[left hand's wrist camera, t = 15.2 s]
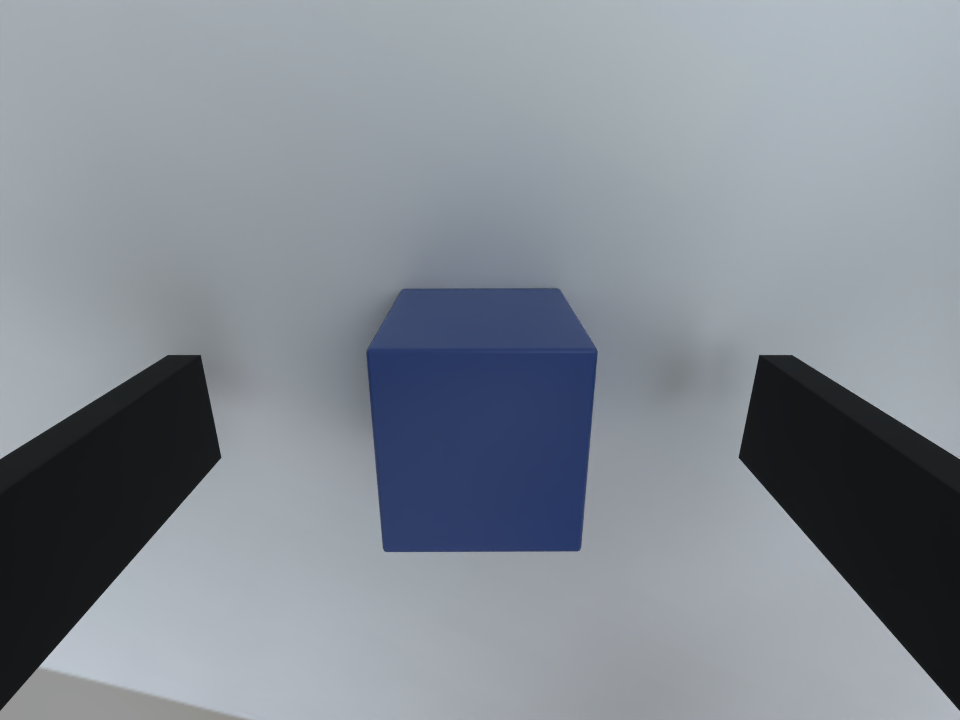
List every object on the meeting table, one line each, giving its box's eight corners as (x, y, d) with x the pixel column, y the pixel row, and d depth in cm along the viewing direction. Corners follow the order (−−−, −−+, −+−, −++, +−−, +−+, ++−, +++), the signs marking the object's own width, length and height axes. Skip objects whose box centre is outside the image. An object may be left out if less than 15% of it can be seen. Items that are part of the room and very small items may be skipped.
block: (409, 440, 15) (382, 553, 11) (401, 288, 14) (365, 349, 9) (552, 439, 15) (581, 553, 11) (560, 288, 14) (599, 348, 9)
